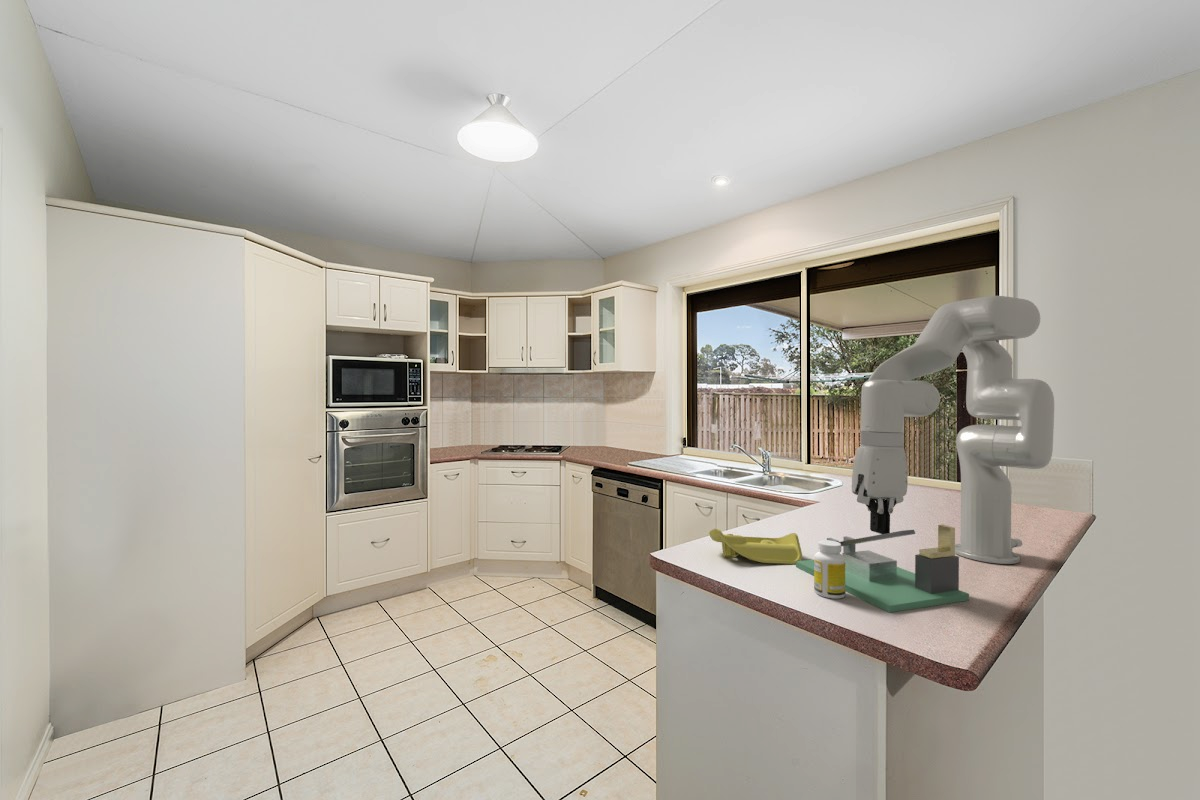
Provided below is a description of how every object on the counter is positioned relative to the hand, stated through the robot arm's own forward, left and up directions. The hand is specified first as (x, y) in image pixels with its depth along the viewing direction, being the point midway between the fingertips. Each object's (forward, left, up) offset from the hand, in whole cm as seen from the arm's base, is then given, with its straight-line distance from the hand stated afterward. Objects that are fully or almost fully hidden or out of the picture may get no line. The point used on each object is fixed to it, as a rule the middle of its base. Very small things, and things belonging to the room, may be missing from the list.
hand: (879, 532), depth 96 cm
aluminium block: (-1, -3, -10) cm, 10 cm away
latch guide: (-7, +7, -10) cm, 13 cm away
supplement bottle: (+13, +1, -11) cm, 17 cm away
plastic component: (+14, -23, -11) cm, 29 cm away
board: (-1, -2, -11) cm, 11 cm away
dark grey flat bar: (-1, -2, -3) cm, 4 cm away
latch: (-7, +7, -3) cm, 10 cm away
